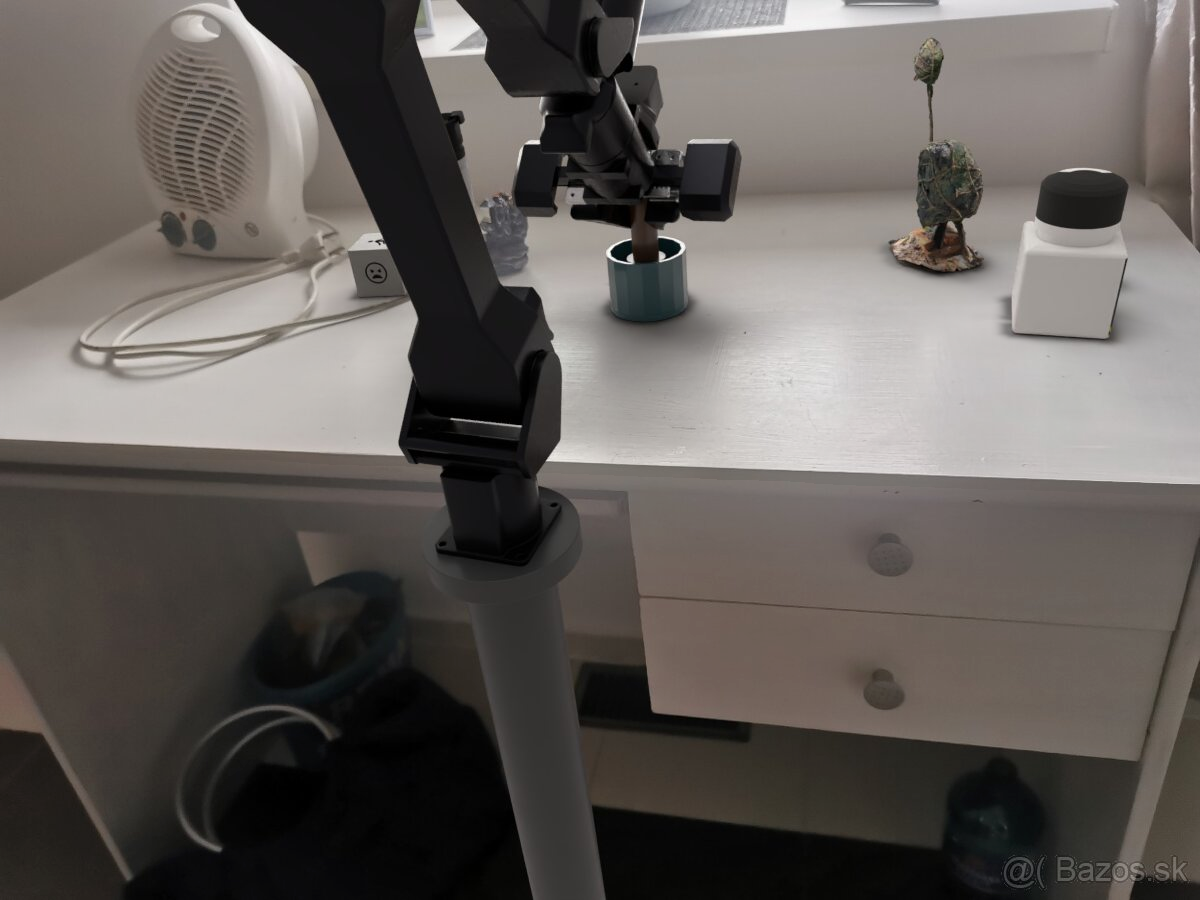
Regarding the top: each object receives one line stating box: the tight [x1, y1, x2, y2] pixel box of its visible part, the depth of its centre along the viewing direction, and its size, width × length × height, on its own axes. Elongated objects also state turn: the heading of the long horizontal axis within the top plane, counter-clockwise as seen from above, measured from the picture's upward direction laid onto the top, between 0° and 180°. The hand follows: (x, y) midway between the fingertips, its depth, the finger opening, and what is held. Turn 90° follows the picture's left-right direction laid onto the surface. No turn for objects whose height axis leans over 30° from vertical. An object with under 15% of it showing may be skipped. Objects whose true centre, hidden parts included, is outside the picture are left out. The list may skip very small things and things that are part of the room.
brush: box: [627, 198, 666, 263], centre depth 82 cm, size 4×4×11 cm
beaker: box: [605, 235, 689, 323], centre depth 84 cm, size 7×7×6 cm
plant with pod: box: [887, 36, 985, 273], centre depth 83 cm, size 8×11×20 cm
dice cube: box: [347, 232, 408, 298], centre depth 94 cm, size 5×5×5 cm
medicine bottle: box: [1011, 167, 1129, 340], centre depth 72 cm, size 7×7×12 cm
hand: (648, 224), depth 83 cm, fingers closed on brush, 2 cm apart
